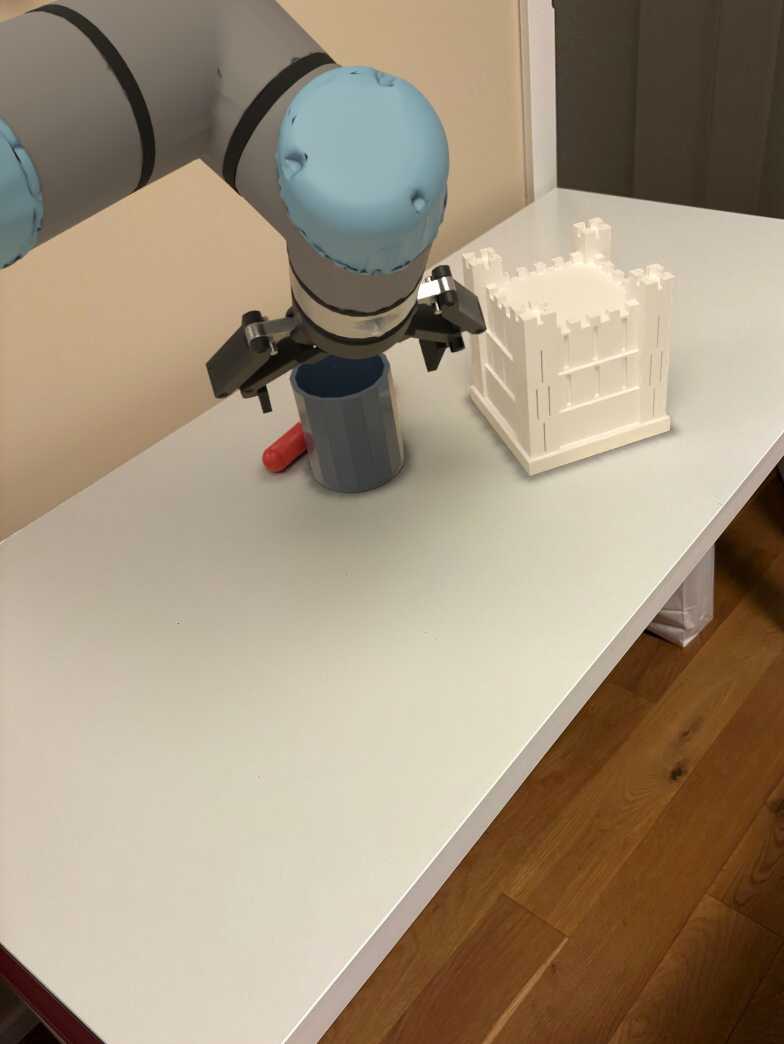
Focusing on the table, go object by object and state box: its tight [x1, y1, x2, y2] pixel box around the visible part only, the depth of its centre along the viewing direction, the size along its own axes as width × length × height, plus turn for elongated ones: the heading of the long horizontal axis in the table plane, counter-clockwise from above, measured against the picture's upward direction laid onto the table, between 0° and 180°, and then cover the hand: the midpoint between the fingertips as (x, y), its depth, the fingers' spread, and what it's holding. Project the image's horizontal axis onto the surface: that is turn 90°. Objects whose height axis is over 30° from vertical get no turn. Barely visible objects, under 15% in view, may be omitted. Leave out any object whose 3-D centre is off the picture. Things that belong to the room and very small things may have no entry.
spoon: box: [261, 420, 307, 473], centre depth 93 cm, size 17×5×2 cm, turn 147°
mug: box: [288, 352, 405, 494], centre depth 86 cm, size 13×9×10 cm, turn 16°
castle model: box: [461, 216, 676, 477], centre depth 86 cm, size 14×14×15 cm
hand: (346, 375), depth 76 cm, fingers open, 13 cm apart
